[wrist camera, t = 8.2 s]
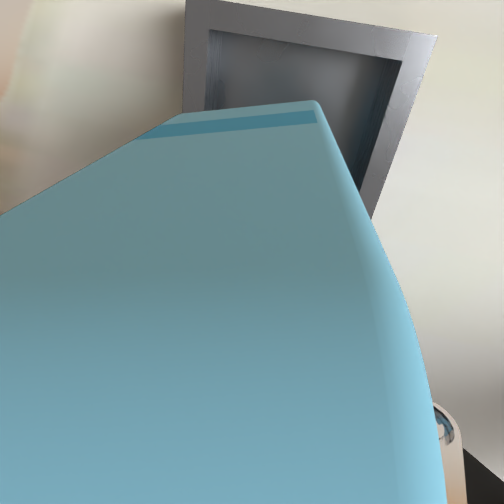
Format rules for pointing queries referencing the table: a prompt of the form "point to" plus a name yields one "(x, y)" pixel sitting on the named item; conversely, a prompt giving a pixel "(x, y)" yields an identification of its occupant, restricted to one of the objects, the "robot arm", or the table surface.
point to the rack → (309, 75)
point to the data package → (210, 328)
